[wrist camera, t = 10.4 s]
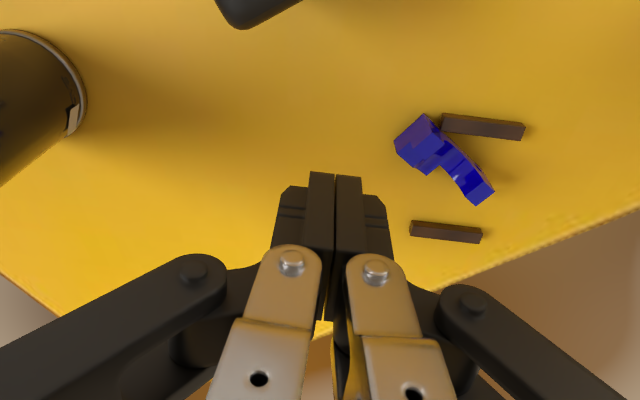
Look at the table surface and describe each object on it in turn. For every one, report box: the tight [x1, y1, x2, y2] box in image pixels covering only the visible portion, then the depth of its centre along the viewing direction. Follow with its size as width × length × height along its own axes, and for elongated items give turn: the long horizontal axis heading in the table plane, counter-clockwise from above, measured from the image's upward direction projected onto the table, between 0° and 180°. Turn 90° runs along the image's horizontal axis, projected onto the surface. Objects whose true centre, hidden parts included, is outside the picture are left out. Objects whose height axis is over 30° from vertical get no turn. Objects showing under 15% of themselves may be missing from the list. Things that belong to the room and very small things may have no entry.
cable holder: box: [394, 113, 495, 206], centre depth 38 cm, size 8×4×4 cm, turn 48°
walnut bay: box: [409, 113, 526, 244], centre depth 41 cm, size 7×13×1 cm, turn 173°
